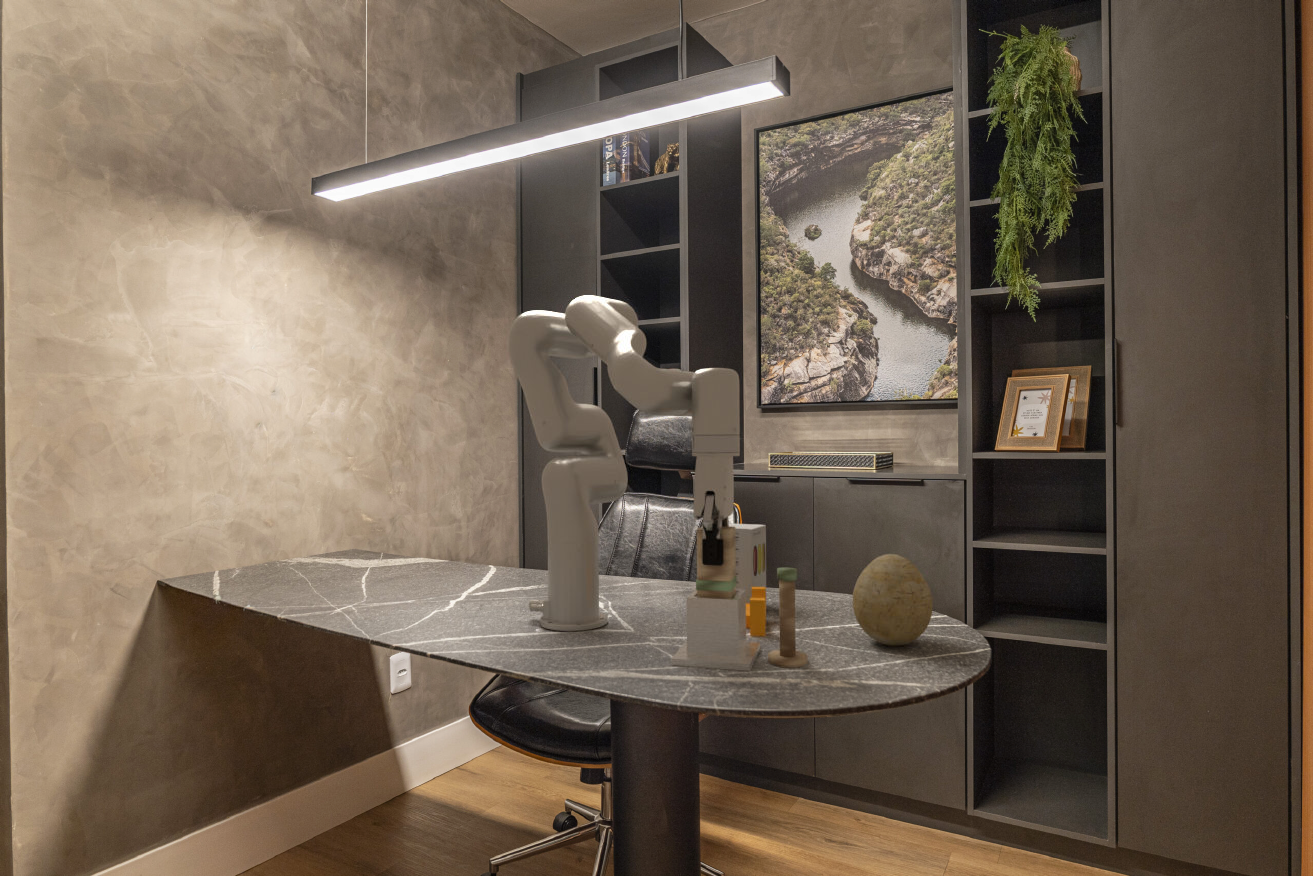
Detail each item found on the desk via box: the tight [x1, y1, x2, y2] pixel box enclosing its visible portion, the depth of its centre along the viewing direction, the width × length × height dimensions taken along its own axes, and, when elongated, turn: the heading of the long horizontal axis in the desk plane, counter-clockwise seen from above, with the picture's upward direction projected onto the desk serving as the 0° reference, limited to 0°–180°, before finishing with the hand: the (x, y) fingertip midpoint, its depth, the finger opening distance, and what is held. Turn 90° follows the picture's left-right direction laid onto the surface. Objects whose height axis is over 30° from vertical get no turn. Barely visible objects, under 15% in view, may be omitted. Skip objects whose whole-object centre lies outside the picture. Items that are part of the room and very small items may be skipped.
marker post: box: [767, 567, 809, 669], centre depth 115 cm, size 6×6×14 cm
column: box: [695, 525, 737, 598], centre depth 118 cm, size 6×6×15 cm
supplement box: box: [729, 523, 767, 604], centre depth 153 cm, size 10×9×17 cm
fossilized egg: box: [852, 553, 934, 647], centre depth 125 cm, size 13×13×15 cm
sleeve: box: [670, 588, 761, 672], centre depth 118 cm, size 12×12×10 cm
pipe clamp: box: [746, 586, 767, 637], centre depth 137 cm, size 12×4×6 cm, turn 171°
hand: (716, 560), depth 118 cm, fingers closed on column, 5 cm apart
